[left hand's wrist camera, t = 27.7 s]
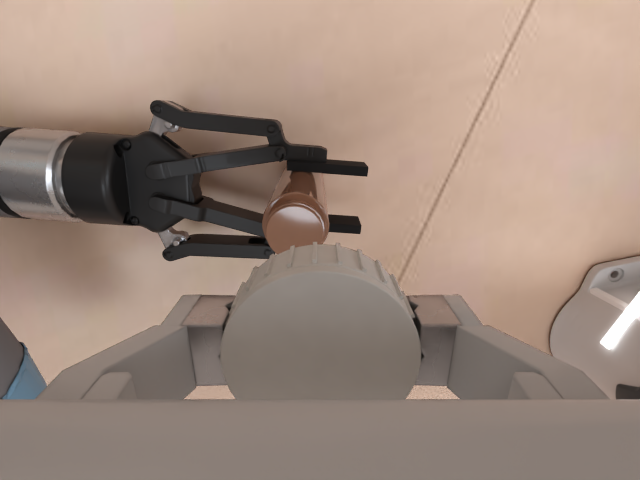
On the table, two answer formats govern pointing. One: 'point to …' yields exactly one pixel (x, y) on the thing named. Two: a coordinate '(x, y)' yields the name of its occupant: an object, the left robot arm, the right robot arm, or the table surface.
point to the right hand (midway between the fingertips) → (361, 197)
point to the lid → (320, 329)
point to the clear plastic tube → (296, 212)
